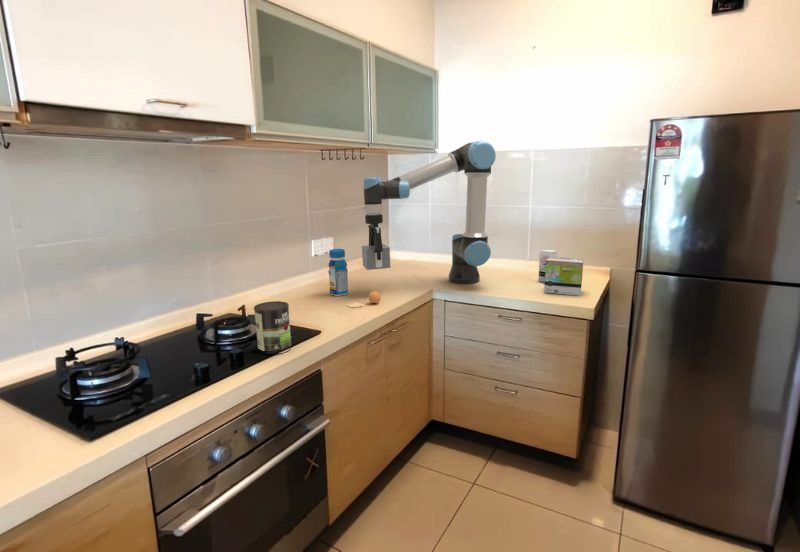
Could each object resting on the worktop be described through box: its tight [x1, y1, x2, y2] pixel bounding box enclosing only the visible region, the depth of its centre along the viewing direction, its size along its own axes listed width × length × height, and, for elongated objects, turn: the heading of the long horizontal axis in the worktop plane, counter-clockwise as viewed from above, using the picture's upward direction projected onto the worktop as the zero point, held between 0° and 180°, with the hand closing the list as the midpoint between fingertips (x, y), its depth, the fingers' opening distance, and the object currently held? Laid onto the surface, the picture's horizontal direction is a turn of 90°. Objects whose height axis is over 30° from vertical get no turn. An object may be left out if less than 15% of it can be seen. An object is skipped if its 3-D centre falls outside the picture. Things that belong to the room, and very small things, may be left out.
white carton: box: [537, 248, 559, 284], centre depth 219 cm, size 8×8×15 cm
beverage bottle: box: [327, 248, 349, 297], centre depth 204 cm, size 8×8×20 cm
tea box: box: [543, 256, 584, 297], centre depth 200 cm, size 15×10×15 cm, turn 68°
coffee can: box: [253, 300, 292, 351], centre depth 142 cm, size 10×10×14 cm
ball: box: [368, 291, 382, 304], centre depth 190 cm, size 5×5×5 cm
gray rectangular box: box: [361, 243, 391, 271], centre depth 202 cm, size 10×10×9 cm
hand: (376, 264), depth 203 cm, fingers closed on gray rectangular box, 10 cm apart
